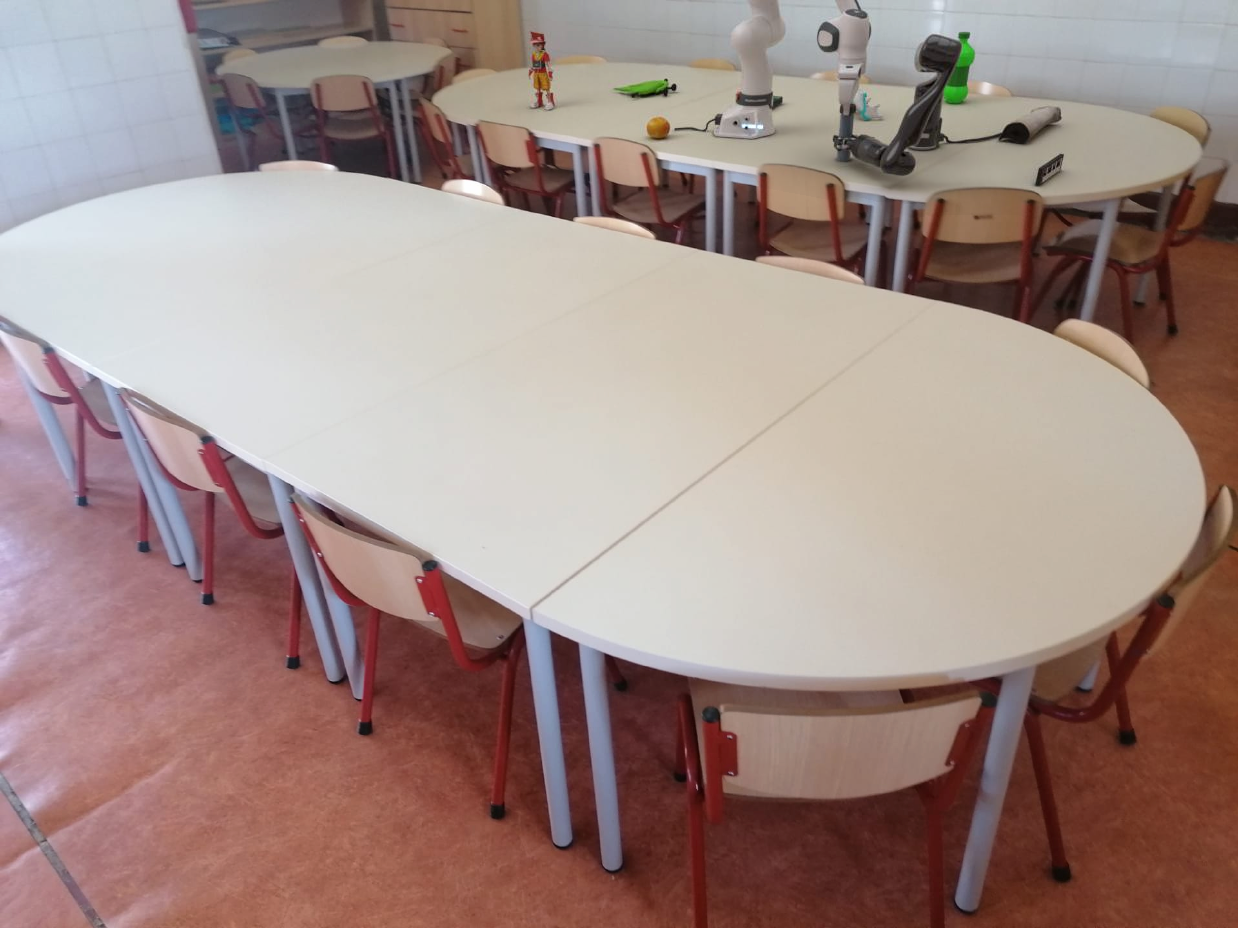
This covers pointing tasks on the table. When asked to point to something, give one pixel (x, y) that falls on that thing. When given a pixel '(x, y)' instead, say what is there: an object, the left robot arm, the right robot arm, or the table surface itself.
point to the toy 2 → (648, 88)
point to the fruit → (658, 127)
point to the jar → (845, 135)
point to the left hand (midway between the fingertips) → (847, 112)
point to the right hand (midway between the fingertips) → (840, 137)
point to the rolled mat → (1030, 124)
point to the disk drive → (777, 101)
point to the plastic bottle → (960, 72)
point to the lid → (852, 109)
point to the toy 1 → (541, 71)
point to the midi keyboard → (1049, 169)
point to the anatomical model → (865, 106)
